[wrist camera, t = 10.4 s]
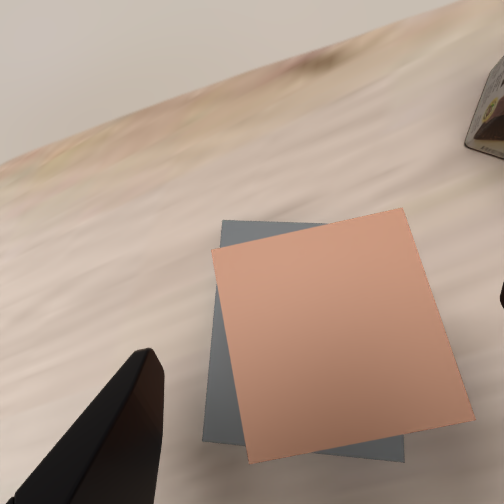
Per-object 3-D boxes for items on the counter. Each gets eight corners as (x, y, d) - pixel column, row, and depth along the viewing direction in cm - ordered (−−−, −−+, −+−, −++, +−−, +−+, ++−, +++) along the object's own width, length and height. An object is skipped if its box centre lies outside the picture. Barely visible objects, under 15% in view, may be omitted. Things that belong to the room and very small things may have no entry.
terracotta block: (361, 365, 17) (476, 420, 7) (267, 385, 17) (248, 464, 7) (335, 273, 18) (402, 207, 8) (248, 292, 18) (211, 250, 8)
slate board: (395, 453, 17) (404, 462, 15) (207, 433, 18) (202, 441, 16) (388, 232, 19) (395, 225, 18) (225, 226, 20) (222, 220, 19)
